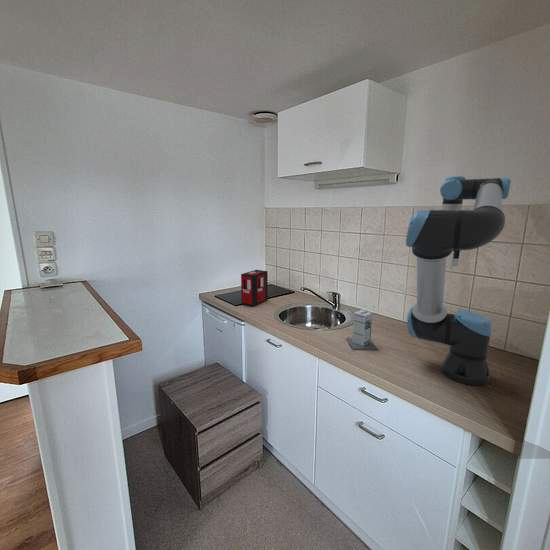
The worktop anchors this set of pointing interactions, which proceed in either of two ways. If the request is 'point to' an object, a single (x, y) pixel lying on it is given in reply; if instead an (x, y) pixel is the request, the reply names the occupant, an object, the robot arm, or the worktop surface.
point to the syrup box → (362, 327)
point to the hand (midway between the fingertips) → (444, 263)
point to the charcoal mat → (358, 347)
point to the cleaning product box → (254, 287)
